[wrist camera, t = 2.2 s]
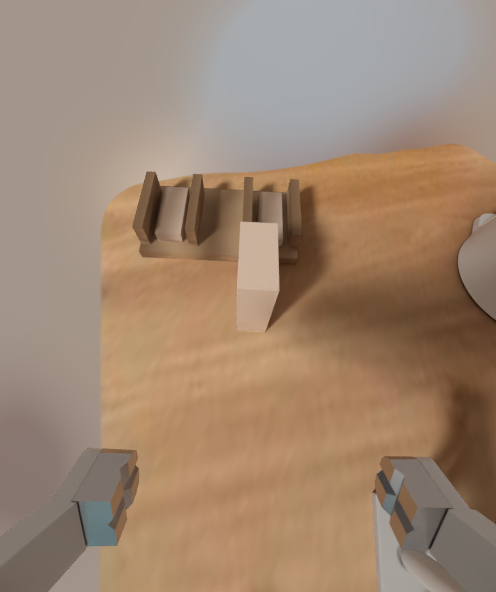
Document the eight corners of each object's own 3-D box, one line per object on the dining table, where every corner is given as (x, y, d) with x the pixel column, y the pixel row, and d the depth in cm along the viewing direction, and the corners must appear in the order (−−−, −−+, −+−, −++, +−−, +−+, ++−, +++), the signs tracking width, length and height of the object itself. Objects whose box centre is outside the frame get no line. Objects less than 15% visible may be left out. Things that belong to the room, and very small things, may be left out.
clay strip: (265, 281, 30) (277, 223, 21) (265, 332, 28) (279, 290, 19) (239, 280, 30) (240, 221, 21) (236, 330, 28) (236, 289, 19)
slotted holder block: (292, 199, 36) (299, 173, 32) (295, 263, 32) (304, 242, 28) (157, 192, 35) (147, 165, 31) (142, 256, 31) (129, 234, 27)
